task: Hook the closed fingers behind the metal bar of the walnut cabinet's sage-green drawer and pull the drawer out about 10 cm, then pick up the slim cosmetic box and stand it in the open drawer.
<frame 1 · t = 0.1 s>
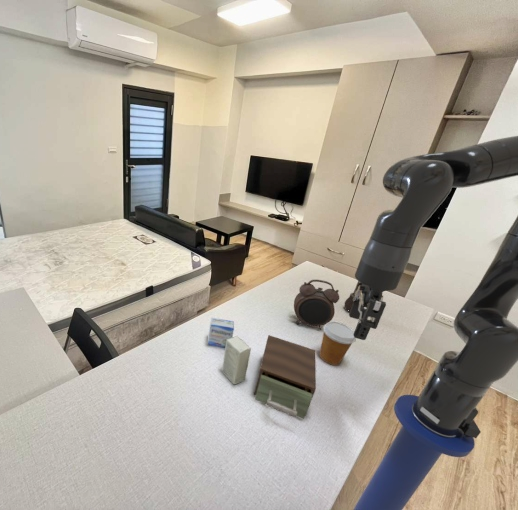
hand: (356, 327, 62), 29 cm above the table, tool pointing down, fingers open, 8 cm apart
cosmetic box: (232, 375, 84), on the table
mate gourd: (351, 311, 123), on the table
alarm clock: (308, 325, 111), on the table
medicine box: (218, 343, 97), on the table
drawer: (283, 384, 76), point 5 cm above the table, slide at 1.0 cm
cabinet: (281, 384, 82), on the table
disposable coffee cup: (329, 358, 94), on the table
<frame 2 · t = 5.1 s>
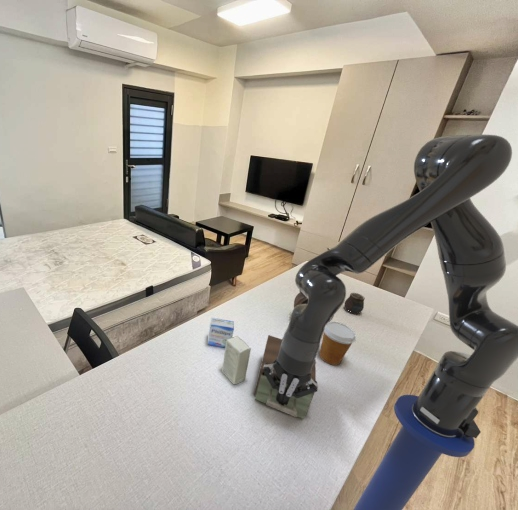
hand: (281, 402, 69), 6 cm above the table, tool pointing down, fingers closed
drawer: (283, 384, 76), point 5 cm above the table, slide at 1.0 cm, touching gripper
everything else where it was.
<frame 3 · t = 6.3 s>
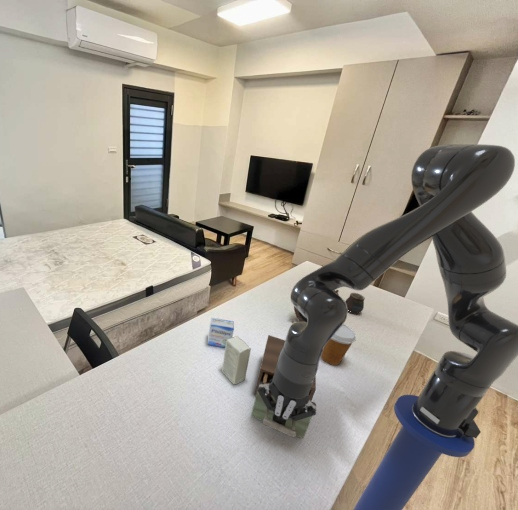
hand: (277, 424, 65), 5 cm above the table, tool pointing down, fingers closed
drawer: (281, 400, 71), point 5 cm above the table, slide at 6.6 cm, touching gripper
everything else where it was.
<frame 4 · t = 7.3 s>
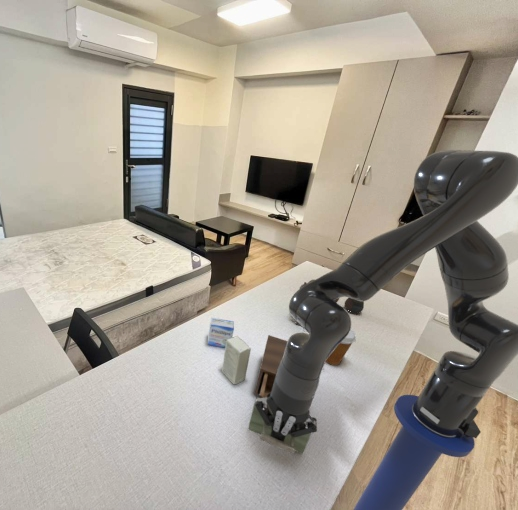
hand: (276, 439, 62), 4 cm above the table, tool pointing down, fingers closed
drawer: (280, 412, 68), point 5 cm above the table, slide at 10.6 cm, touching gripper
everything else where it was.
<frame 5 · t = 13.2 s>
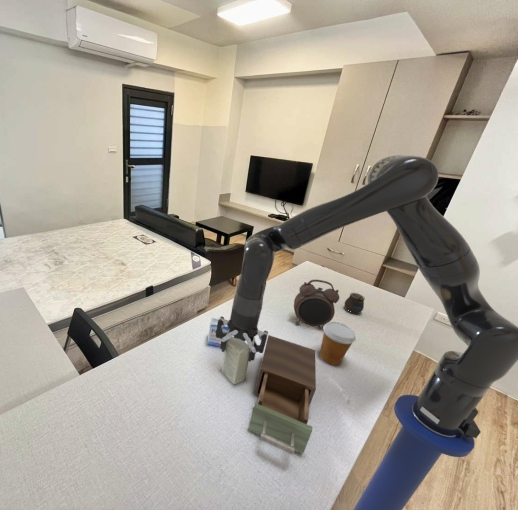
hand: (236, 354, 80), 8 cm above the table, tool pointing down, fingers closed on cosmetic box, 7 cm apart
cosmetic box: (232, 375, 84), on the table, touching gripper
drawer: (280, 412, 67), point 5 cm above the table, slide at 10.6 cm
everything else where it was.
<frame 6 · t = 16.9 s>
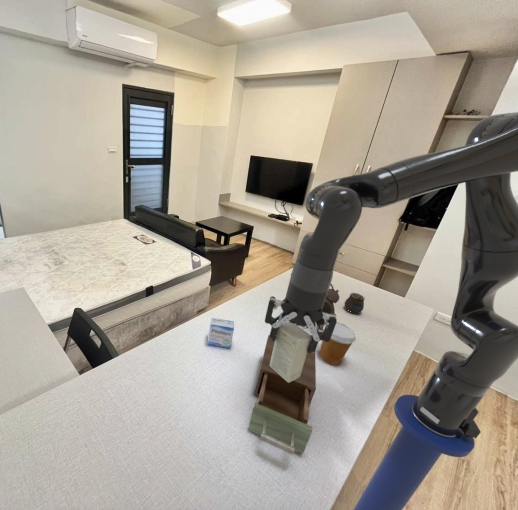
hand: (291, 344, 64), 23 cm above the table, tool pointing down, fingers closed on cosmetic box, 7 cm apart
cosmetic box: (283, 371, 67), point 15 cm above the table, touching gripper
everything else where it was.
when the fingers open (10 cm above the table, at t = 20.6 s): cosmetic box stays where it is, resting on drawer.
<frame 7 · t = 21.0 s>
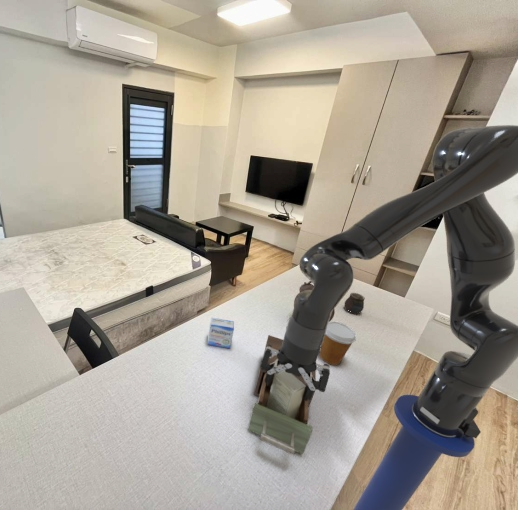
hand: (286, 390, 67), 11 cm above the table, tool pointing down, fingers open, 8 cm apart
cosmetic box: (278, 416, 70), point 2 cm above the table, touching drawer
drawer: (280, 412, 67), point 5 cm above the table, slide at 10.7 cm, touching cosmetic box
everything else where it was.
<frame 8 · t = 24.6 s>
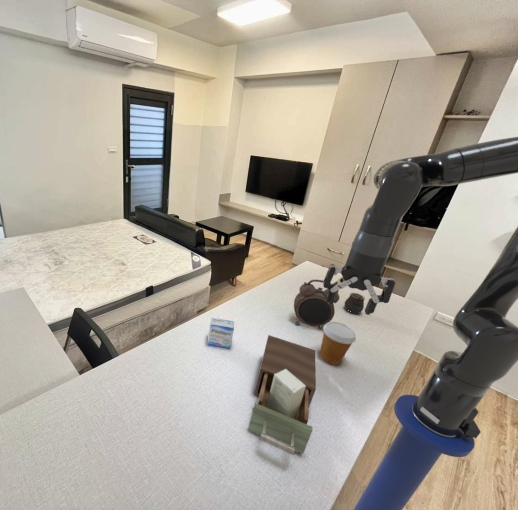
hand: (347, 308, 71), 28 cm above the table, tool pointing down, fingers open, 8 cm apart
nothing on the table moved.
at the end: drawer slide at 10.6 cm; cosmetic box inside the target area in the drawer (0.8 cm from its centre), point 1.9 cm above the cabinet's base; cosmetic box tilted 0° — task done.
